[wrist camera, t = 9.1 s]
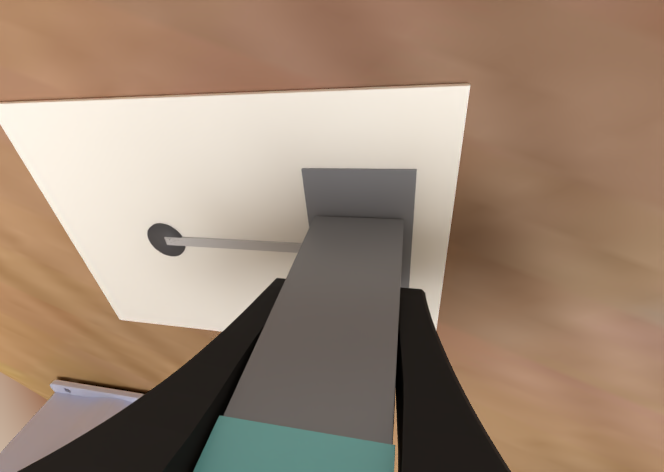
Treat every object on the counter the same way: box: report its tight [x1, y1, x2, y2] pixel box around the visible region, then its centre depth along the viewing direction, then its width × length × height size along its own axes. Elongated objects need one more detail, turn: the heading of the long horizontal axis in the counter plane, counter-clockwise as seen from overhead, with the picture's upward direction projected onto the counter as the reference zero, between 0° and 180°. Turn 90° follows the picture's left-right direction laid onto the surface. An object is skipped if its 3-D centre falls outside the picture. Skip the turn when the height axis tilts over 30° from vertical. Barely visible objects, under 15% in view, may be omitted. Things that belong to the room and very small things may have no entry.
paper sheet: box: [0, 83, 470, 332], centre depth 14 cm, size 16×11×1 cm
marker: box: [193, 216, 404, 472], centre depth 9 cm, size 3×3×9 cm
